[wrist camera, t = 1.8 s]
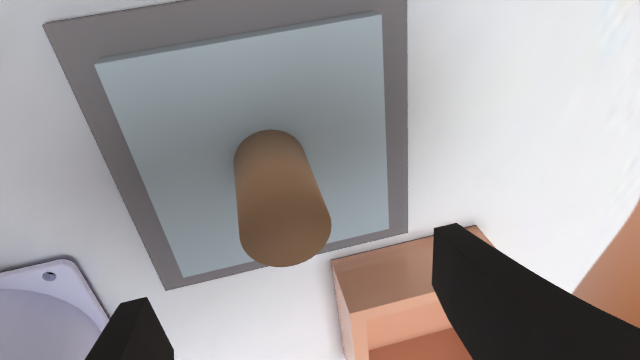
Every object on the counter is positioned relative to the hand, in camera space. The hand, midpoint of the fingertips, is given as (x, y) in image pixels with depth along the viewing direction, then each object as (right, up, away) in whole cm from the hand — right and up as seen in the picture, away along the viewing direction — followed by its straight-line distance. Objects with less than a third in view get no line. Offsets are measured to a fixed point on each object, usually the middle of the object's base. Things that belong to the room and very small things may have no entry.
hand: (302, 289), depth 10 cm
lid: (-2, +4, +6) cm, 8 cm away
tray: (+5, -4, +13) cm, 15 cm away
